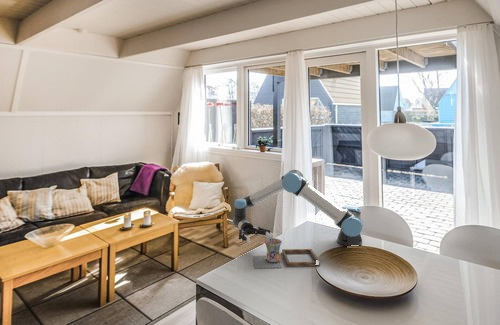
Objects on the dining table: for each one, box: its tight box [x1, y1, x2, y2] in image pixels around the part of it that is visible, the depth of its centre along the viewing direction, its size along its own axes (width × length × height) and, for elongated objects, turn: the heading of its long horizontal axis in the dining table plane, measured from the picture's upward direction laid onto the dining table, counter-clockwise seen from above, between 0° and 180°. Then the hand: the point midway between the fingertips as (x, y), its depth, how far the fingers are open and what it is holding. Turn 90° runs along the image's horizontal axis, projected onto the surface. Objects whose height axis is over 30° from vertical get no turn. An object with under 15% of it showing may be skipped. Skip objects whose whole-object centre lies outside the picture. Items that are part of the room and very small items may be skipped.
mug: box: [264, 237, 282, 262], centre depth 161 cm, size 12×9×11 cm
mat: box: [252, 255, 282, 270], centre depth 159 cm, size 14×14×1 cm
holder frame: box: [281, 248, 319, 268], centre depth 163 cm, size 17×17×2 cm
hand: (260, 239), depth 164 cm, fingers open, 13 cm apart
